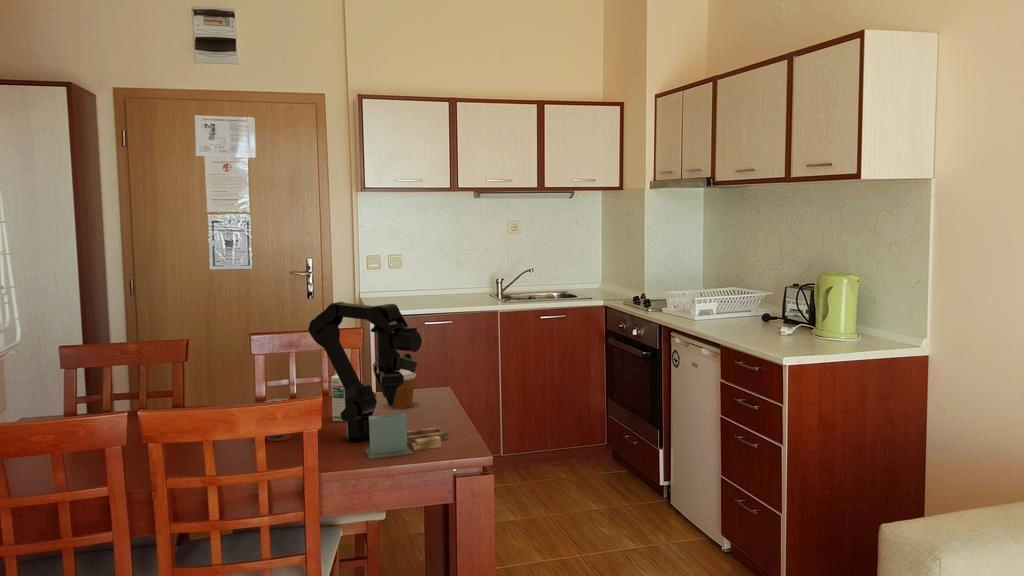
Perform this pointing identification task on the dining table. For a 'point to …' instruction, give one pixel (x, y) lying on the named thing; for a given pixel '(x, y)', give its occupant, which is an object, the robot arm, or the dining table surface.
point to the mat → (388, 453)
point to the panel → (388, 433)
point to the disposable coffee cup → (405, 390)
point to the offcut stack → (427, 443)
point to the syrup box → (337, 398)
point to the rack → (426, 434)
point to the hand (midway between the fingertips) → (388, 401)
